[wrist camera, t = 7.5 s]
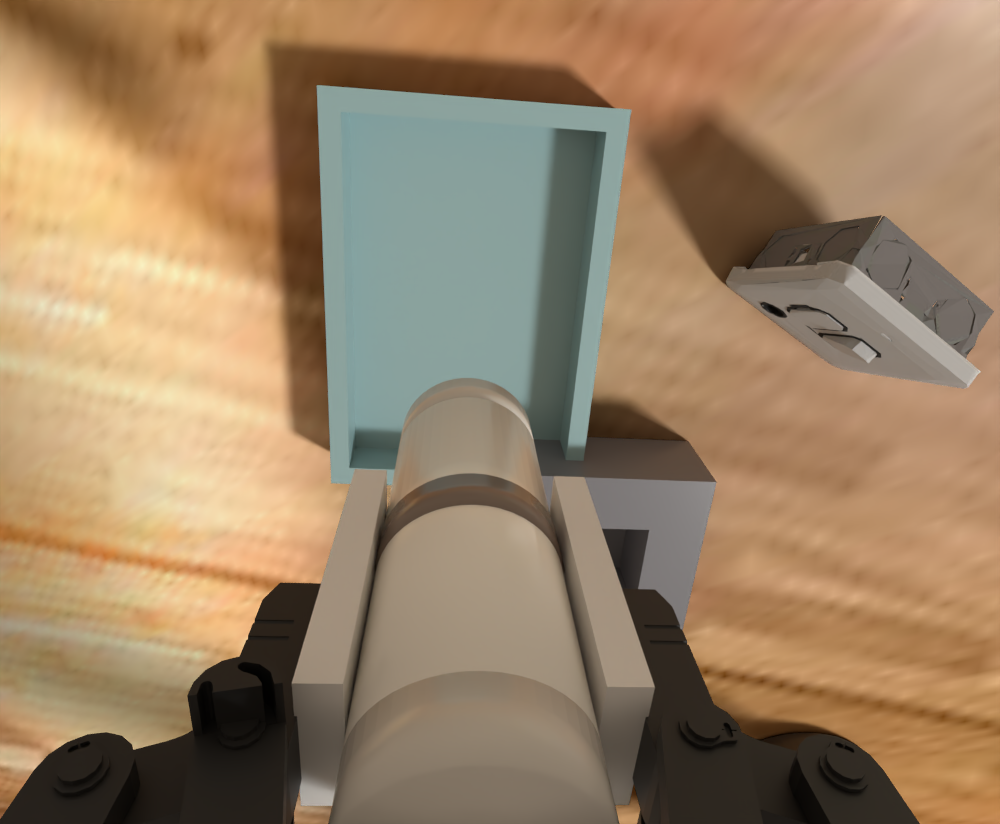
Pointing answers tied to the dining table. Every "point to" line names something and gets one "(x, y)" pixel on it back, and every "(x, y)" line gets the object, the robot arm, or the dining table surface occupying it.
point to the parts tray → (462, 258)
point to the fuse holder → (643, 507)
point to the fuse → (470, 637)
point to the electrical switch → (867, 301)
